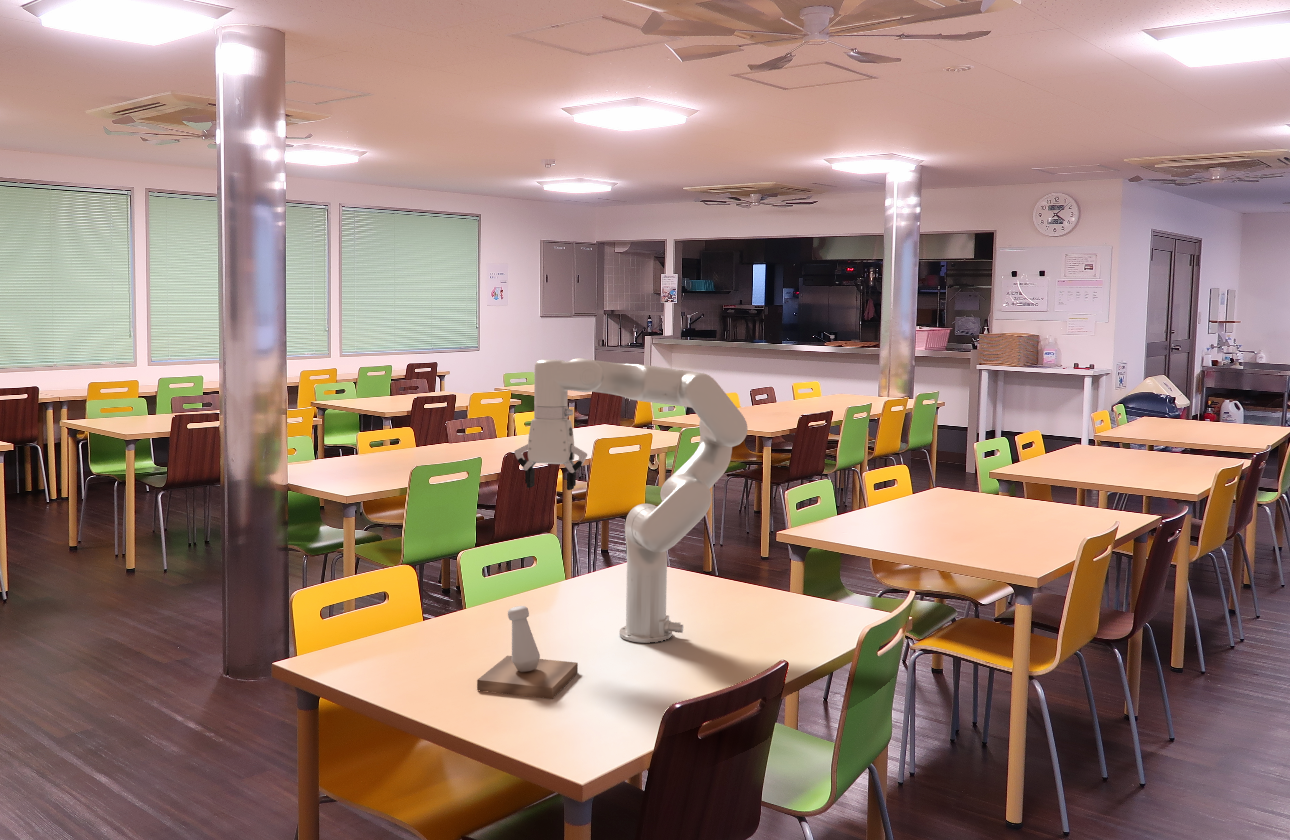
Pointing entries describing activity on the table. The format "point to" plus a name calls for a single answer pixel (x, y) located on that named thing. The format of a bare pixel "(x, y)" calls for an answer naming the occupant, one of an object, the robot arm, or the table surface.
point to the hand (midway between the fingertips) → (550, 488)
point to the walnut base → (528, 678)
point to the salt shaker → (522, 640)
